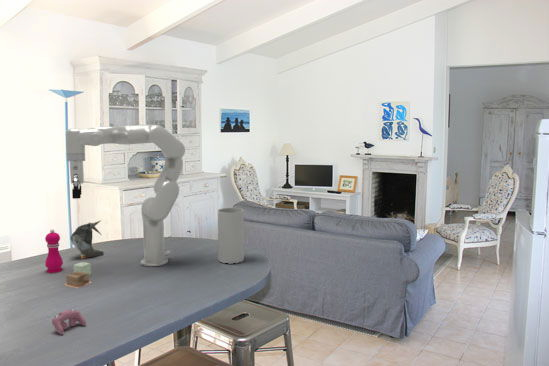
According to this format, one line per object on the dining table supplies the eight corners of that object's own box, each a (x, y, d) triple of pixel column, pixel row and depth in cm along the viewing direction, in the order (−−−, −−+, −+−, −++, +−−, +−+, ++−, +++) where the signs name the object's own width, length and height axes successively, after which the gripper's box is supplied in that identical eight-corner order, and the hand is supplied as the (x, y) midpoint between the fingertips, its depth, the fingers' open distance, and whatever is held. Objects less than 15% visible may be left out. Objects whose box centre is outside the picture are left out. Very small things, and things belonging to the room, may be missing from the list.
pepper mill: (56, 275, 221) (54, 231, 218) (42, 274, 222) (39, 230, 219) (66, 270, 228) (64, 227, 225) (52, 269, 229) (50, 227, 226)
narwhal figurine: (66, 257, 249) (64, 221, 246) (96, 251, 259) (95, 217, 256) (77, 263, 238) (75, 226, 236) (108, 257, 248) (107, 221, 246)
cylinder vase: (248, 261, 243) (248, 211, 240) (225, 265, 236) (225, 213, 233) (235, 255, 253) (235, 206, 250) (213, 259, 247) (213, 209, 243)
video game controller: (81, 327, 172) (74, 307, 173) (88, 324, 170) (81, 304, 171) (54, 337, 164) (47, 317, 165) (61, 334, 162) (54, 314, 163)
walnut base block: (78, 280, 212) (78, 271, 211) (88, 282, 209) (88, 273, 209) (67, 284, 207) (66, 275, 206) (77, 286, 204) (76, 277, 203)
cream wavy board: (84, 273, 224) (84, 271, 224) (108, 279, 217) (108, 276, 217) (51, 285, 209) (51, 282, 209) (77, 291, 202) (76, 288, 202)
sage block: (83, 272, 222) (82, 261, 221) (91, 274, 220) (90, 263, 219) (73, 276, 217) (73, 264, 217) (82, 277, 215) (81, 266, 214)
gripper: (84, 159, 210) (85, 199, 212) (85, 155, 226) (86, 193, 228) (65, 159, 208) (66, 200, 210) (67, 155, 224) (69, 193, 226)
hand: (77, 196), depth 219 cm, fingers open, 9 cm apart
